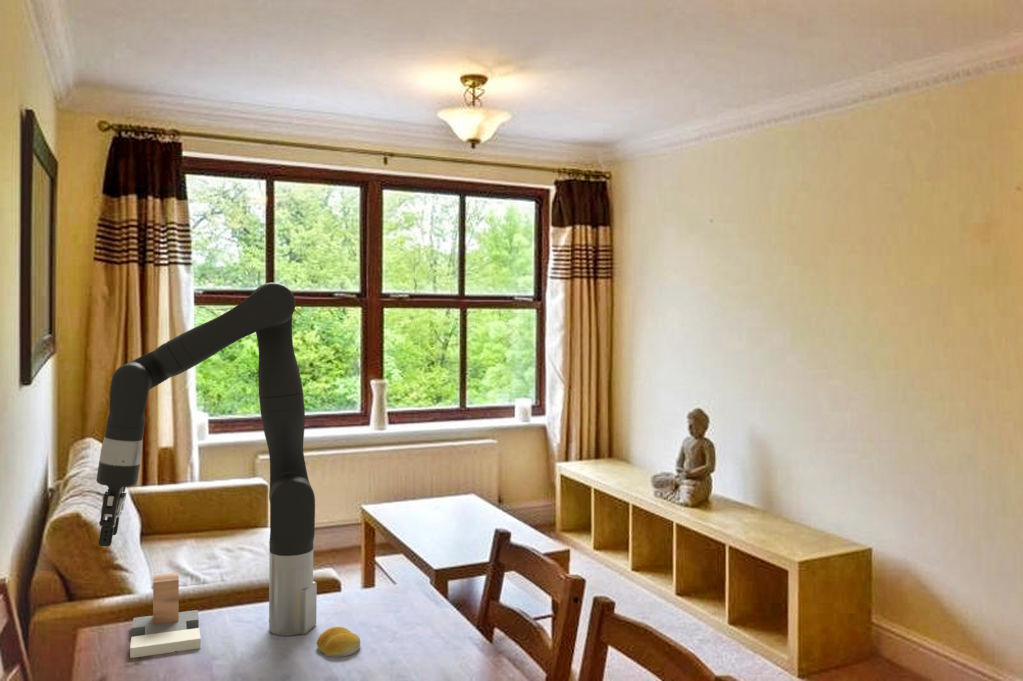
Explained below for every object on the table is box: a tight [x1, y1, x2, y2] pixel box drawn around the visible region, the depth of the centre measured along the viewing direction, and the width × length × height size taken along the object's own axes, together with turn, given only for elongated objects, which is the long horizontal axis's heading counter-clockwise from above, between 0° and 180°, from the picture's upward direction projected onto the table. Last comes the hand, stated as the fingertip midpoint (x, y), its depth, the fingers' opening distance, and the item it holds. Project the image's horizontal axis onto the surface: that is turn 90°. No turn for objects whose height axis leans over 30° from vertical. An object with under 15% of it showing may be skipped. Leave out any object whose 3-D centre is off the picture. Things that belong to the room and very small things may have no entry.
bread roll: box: [316, 626, 361, 658], centre depth 164 cm, size 8×9×4 cm
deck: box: [131, 609, 200, 637], centre depth 171 cm, size 11×13×2 cm
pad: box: [129, 627, 202, 659], centre depth 163 cm, size 6×13×2 cm, turn 113°
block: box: [152, 572, 180, 624], centre depth 173 cm, size 5×5×9 cm
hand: (107, 539), depth 161 cm, fingers open, 8 cm apart
